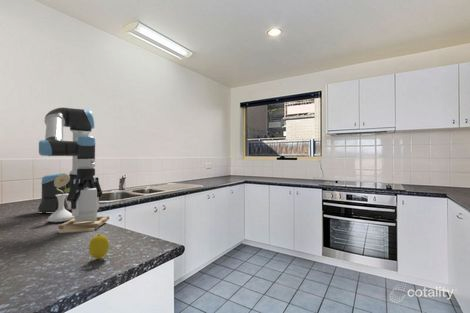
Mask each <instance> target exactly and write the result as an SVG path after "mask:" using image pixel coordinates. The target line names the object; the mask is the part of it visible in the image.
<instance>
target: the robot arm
mask: <svg viewBox="0 0 470 313" xmlns="http://www.w3.org/2000/svg"><path fill="white" fill-rule="evenodd" d="M44 124H45V126H46V127H45V136H44V139H41V140H39V141H38V154H39V155H40V156H42V157H44V156H46V157H72V162H71V163H72V165H71V167H72V168H71V171H70V172H69V173H68V175H69V176H70V181H68V183H67V184H66V185H65V186H66V189H67V188H69V189H70V192H68V193H66V192H65V191H64V190H65V186H62V187H59V188H58V187H56V186H54V180H55V179H56V177H58V176H59V175H61V174H64V173H65V172H64V173H54V174H48V175H44V176H42V178H41V183H40V185H41V201H40V202H39V206H38V208H37V213H38V212H42V213H46V212H56V211H57V210H58V207H59V202H58V198H57V197H56V196H55V195H58V194H62V193H63V192H64V193H63V194H67V196H66V198H65V199H64V208H65V209H66V210H67V209H68V210H69V205H68V202H70V209H71V213H72V216H74V217H75V216H78V201H77V200H78V198H79V196H80V192H81V190H83V189H84V188H96V189H97V211H98V210H99V208H100V205H99V202H100V197H102V195H103V190H102V188H101V185H100V181H99V180H100V178H99V177H94V176H96V169H95V167H96V138H95V136H91V135H90V133H92V129H94V128H95V118H94V113H93V112H92V111H91V110H89V109H82V108H71V107H70V108H69V107H57V108H54V109H51V110H50V111H48V113H47V114H46V115H45V116H44ZM64 128H69V131H70V132H71V133H72V141H71V140H69V141H68V140H64ZM57 188H58V189H59V190H62V191H63V192H61V191H59V190H57ZM77 190H79V191H78V192H77V193H76V191H77ZM67 201H68V202H67ZM68 210H67V211H68Z"/></svg>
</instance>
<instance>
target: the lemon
mask: <svg viewBox="0 0 470 313" xmlns="http://www.w3.org/2000/svg"><path fill="white" fill-rule="evenodd" d="M88 245H89V246H88V251H89V252H88V253H89V254H90V256H91V257H92V258H94V259H97V260H101V259H102V258H103V257H105V255H106V254H107V253H108V251H109V248H110V241H109V239H108V238H107V237H106V235H104V234H101V233H98V234H97V235H95V236H94V237H92V239H91V240H90V241H89V244H88Z"/></svg>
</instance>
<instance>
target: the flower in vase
mask: <svg viewBox="0 0 470 313" xmlns="http://www.w3.org/2000/svg"><path fill="white" fill-rule="evenodd" d="M60 174H61V173H60ZM68 181H70V176H69V174H67V173H66V172H64V174H61V175H59V176H58V177H56V179H55V180H54V186H56V187H58V188H59V187H62V186H65V185H66V184H67V183H68ZM58 188H57V190H59V189H58ZM59 191H61V192H63V191H62V190H59ZM64 191H65V192H66V193H67V194H63V193H64V192H63V193H62V194H58V195H55V196H56V197H57V198H58V202H59V207H58V210H57V211H56V212H54V213H51V214H50V216H48V218H47V221H48V222H51V223H62V222H67V221H69V220H71V219H73V218H75V216H72V212H70V211H69V210H66V209H65V208H64V199H66V198H67V196H68V194H69V193H68V192H70V189H69V188H67V189H66V186H65V190H64Z"/></svg>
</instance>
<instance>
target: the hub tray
mask: <svg viewBox="0 0 470 313" xmlns="http://www.w3.org/2000/svg"><path fill="white" fill-rule="evenodd" d="M109 220H110V215H105V216H104V215H101V216H98V215H97V220H94V221H86V222H78V223H75V217H74V218H73V219H71V220H68V221H64V223H62V224H60V225H58V226H57V227H58V230H57V231H58V232H57V233H59V234H60V233H61V234H62V233H63V234H64V233H79V232H82V233H83V232H94V231H96V230H97V229H98V228H100V227H102V225H104V224H105V223H107V221H109ZM99 226H100V227H99Z"/></svg>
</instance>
